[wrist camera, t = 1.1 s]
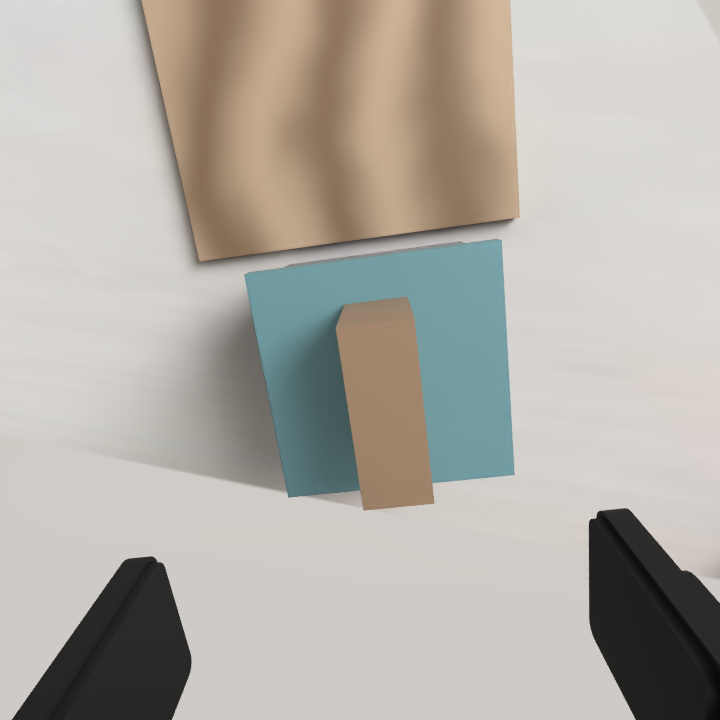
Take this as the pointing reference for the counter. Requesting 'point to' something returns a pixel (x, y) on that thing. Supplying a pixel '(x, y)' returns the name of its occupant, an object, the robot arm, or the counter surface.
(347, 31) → the wooden board
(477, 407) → the lid
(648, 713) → the robot arm
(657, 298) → the counter surface
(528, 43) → the counter surface
